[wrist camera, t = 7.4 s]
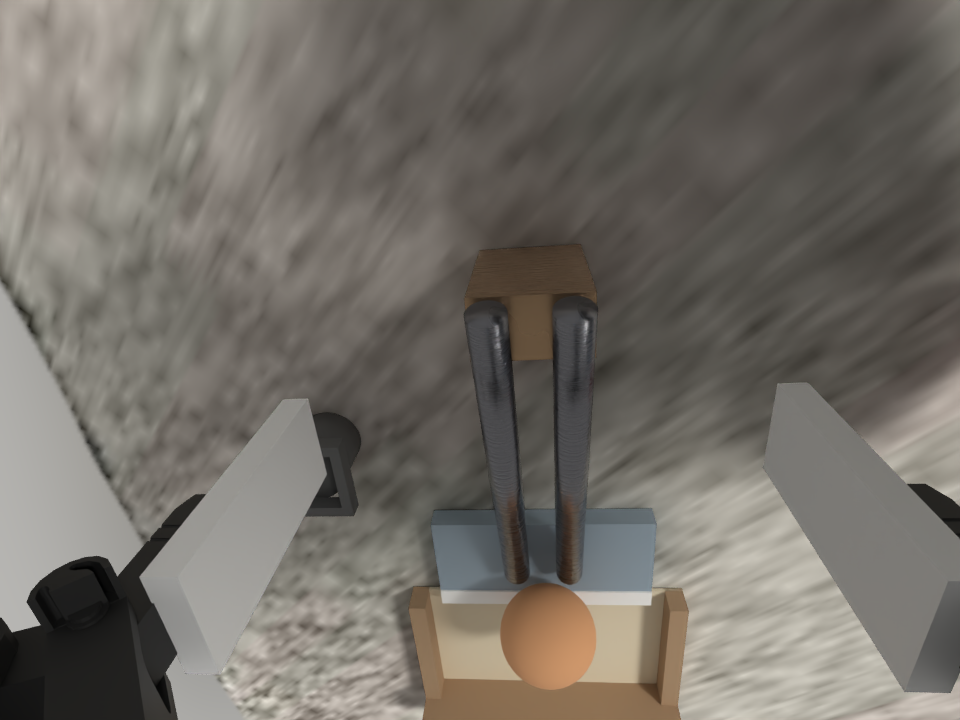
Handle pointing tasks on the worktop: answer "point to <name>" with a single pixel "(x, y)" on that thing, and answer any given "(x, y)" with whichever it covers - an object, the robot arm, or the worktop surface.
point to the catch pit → (562, 712)
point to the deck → (546, 556)
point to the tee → (336, 466)
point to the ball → (548, 636)
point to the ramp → (572, 345)
